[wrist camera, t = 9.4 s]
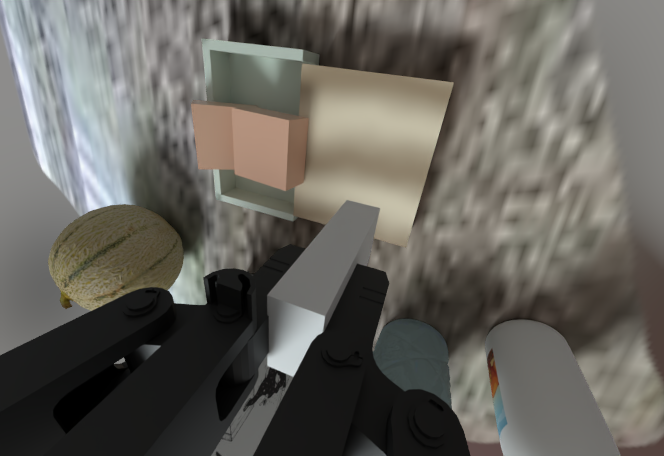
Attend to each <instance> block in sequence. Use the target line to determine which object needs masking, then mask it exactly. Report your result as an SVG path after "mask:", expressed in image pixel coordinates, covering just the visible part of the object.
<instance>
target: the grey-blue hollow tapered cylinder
mask: <svg viewBox="0 0 664 456" xmlns="http://www.w3.org/2000/svg"><path fill="white" fill-rule="evenodd" d="M373 357H374V359H375V362H376V364H377V366H378V367H379V369H380V370H381V371H382V373H383V374H384V375H385V376H386V377H387V378H389V379H390V380H391V381H392V382H393V383H395V384H396V385H397V386H399V387H400V388H401V389H403V390H404V391H407V390H409V389H422V390H425V391H428V392H431V393H433V394H435V395H436V396H438V397H439V398H441V399H442V400H443V401H445V402H446V403H447V404H448V405H449V407H450V408H451V409H452V406H451V404H452V403H451V393H450V382H449V381H450V376H449V367H448V365H447V364H448V348H447V344H446V342H445V340H444V338H443V337H442V335H441V334H440V333H439V332H438V331H437V330H436V329H434V328H433V327H432V326H430V325H428V324H426V323H424V322H421V321H418V320H414V319H398V320H394V321H392V322H390V323H388V324H387V325H386V326H385V327H384V328H383V329H382V331H381V333H380V336H379V338H378V341H377V343H376V346H375V350H374V352H373Z"/></svg>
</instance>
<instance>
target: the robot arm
mask: <svg viewBox="0 0 664 456" xmlns="http://www.w3.org/2000/svg"><path fill="white" fill-rule="evenodd" d="M379 212H380V208H378V207H374V206H370V205H366V204H361V203H357V202H353V201H349V200H346V201H345V203H344V204H343V205H342V206H341V207H340V209H339V210H338V211H337V212H336V213H335V215H334V216H333V217H332V218H331V219H330V221H329V222H328V223H327V224H326V225H325V227H324V228H323V229H322V230H321V231H320V233H319V234H318V235H317V236H316V237H315V239H314V240H313V241H312V242H311V243H310V245H309V246H308V247H307V248H306V249H304V248H301V247H298V246H294V245H291V244H290V245H288V246H286V247H284V248H281V249H279V250H278V251H277V252H276V253H275V254H274V255H273V256H272V257H271V258H270V260H268V261H267V262H266V263H265V264H264V265H263V267H261V268H260V269H259V270H258V271H257V272H256V273H255V274H254V275H253V276H252V275H251V274H250V273H248V272H246V271H244V270H240V269H234V268H233V269H222V270H219V271H215V272H212V273H211V274H209V275H207V276H205V277H204V285H205V292H206V298H207V304H206V305H189V304H176V303H174V301H173V297H172V295H171V294H170V292H169V291H167V290H165V289H163V288H158V287H148V288H142V289H138V290H135V291H132V292H130V293H127V294H125V295H123V296H121V297H119V298H117V299H115V300H113V301H111V302H109V303H107V304H105V305H103V306H101V307H98V308H96V309H94V310H92V311H90V312H88V313H86V314H84V315H82V316H80V317H78V318H76V319H74V320H72V321H70V322H68V323H66V324H64V325H62V326H60V327H58V328H55V329H53V330H51V331H49V332H47V333H45V334H43V335H41V336H39V337H37V338H35V339H33V340H31V341H29V342H27V343H25V344H23V345H21V346H19V347H16V348H14V349H12V350H10V351H8V352H6V353H4V354H2V355H0V456H211V455H212V454H213V452H214V450H215V449H216V447H217V445H218V444H219V442H220V441H221V439H222V437H223V436H224V434H225V433H226V431H227V429H228V428H229V426H230V425H231V423H232V421H233V420H234V418H235V417H236V415H237V413H238V412H239V410H240V409H241V407H242V405H243V404H244V402H245V401H246V399H247V397H248V396H249V394H250V392H251V391H252V389H253V388H254V386H255V384H256V382H257V379H258V377H259V371H258V368H259V366H260V365H261V363H262V362H263V360H264V359H265V357H266V356H267V366H269V367H271V368H274V369H276V370H278V371H281V372H283V373H285V374H288V375H290V376H292V377H293V379H292V381H291V383H290V385H289V387H288V389H287V391H286V393H285V394H284V396H283V398H282V400H281V402H280V404H279V406H278V408H277V410H276V412H275V414H274V416H273V418H272V420H271V422H270V424H269V426H268V427H267V429H266V431H265V433H264V435H263V437H262V439H261V441H260V443H259V445H258V447H257V449H256V451H255V453H254V455H253V456H470V452H469V449H468V445H467V441H466V438H465V434H464V431H463V428H462V426H461V424H460V422H459V419H458V417H457V415H456V414H455V413H454V412H453V410H452V409H451V408H450V407H449V405H448V404H447V403H446V402H445V401H443V400H442V399H441V398H439V397H438V396H436V395H435V394H433V393H431V392H428V391H425V390H422V389H409V390H407V391H404V390H403V389H401V388H400V387H399V386H397V385H396V384H395V383H393V382H392V381H391V380H390V379H389V378H387V377H386V376H385V375H384V374H383V373H382V371H381V370H380V369H379V367H378V366H377V364H376V362H375V359H374V357H373V351H372V347H373V341H374V337H375V333H376V330H377V326H378V322H379V319H380V315H381V311H382V308H383V304H384V300H385V297H386V293H387V289H388V286H389V281H388V278H387V275H386V272H384V271H380V270H377V269H374V268H371V267H367V263H368V261H369V257H370V253H371V248H372V244H373V239H374V234H375V230H376V225H377V221H378V216H379ZM123 357H124V358H125V362H123V363H122V364H114V363H115V362H117V361H119V360H120V359H122V358H123Z"/></svg>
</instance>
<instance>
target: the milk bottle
mask: <svg viewBox="0 0 664 456" xmlns="http://www.w3.org/2000/svg"><path fill="white" fill-rule="evenodd" d="M485 349H486V357H487V364H488V370H489V377H490V384H491V390H492V397H493V403H494V409H495V415H496V421H497V428H498V433H499V438H500V443H501V448H502V452H503V455H504V456H621V455H620V453H619V451H618V448H617V446H616V444H615V441H614V439H613V437H612V434H611V432H610V430H609V428H608V426H607V424H606V422H605V420H604V417H603V415H602V413H601V411H600V409H599V407H598V405H597V403H596V400H595V398H594V396H593V394H592V392H591V390H590V388H589V386H588V384H587V382H586V380H585V377H584V375H583V373H582V371H581V369H580V367H579V365H578V363H577V361H576V359H575V357H574V355H573V353H572V351H571V349H570V347H569V345H568V343H567V341H566V340H565V338H564V337H563V336H562V335H561V334H560V333H559V332H557V331H556V330H555V329H553V328H552V327H550V326H548V325H546V324H544V323H541V322H538V321H533V320H525V319H517V320H510V321H505V322H503V323H500V324H498V325H497V326H495V327H494V328H493V329H492V330H491V331H490V332H489V334H488V336H487V337H486V341H485Z"/></svg>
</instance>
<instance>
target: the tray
mask: <svg viewBox="0 0 664 456" xmlns="http://www.w3.org/2000/svg"><path fill="white" fill-rule="evenodd" d="M202 48H203V59H204V71H205V82H206V93H207V101H213V102H224V103H235V104H247V105H257V106H258V107H259V108H263V109H268V110H272V111H277V112H282V113H287V114H291V115H296V116H299V105H300V88H301V70H302V64H310V65H318V66H319V56H320V55H319V54H316V53H313V52H309V51H306V50H302V49H292V48H283V47H274V46H265V45H256V44H247V43H238V42H229V41H220V40H211V39H202ZM213 172H214V183H215V194H216V199H217V200H220V201H224V202H227V203H231V204H234V205H238V206H241V207H245V208H248V209H251V210H255V211H258V212H262V213H265V214H269V215H272V216H276V217H279V218H283V219H286V220H290V221H295V220H296V219H297V218H298V217H296V216H293V211H294V193H295V187H294V188H291V189H289V190H287V191H284V190H281V189H278V188H275V187H272V186H268V185H265V184H262V183H259V182H256V181H253V180H250V179H247V178H244V177H241V176H238V175H235V171H234V170H220V169H213Z"/></svg>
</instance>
